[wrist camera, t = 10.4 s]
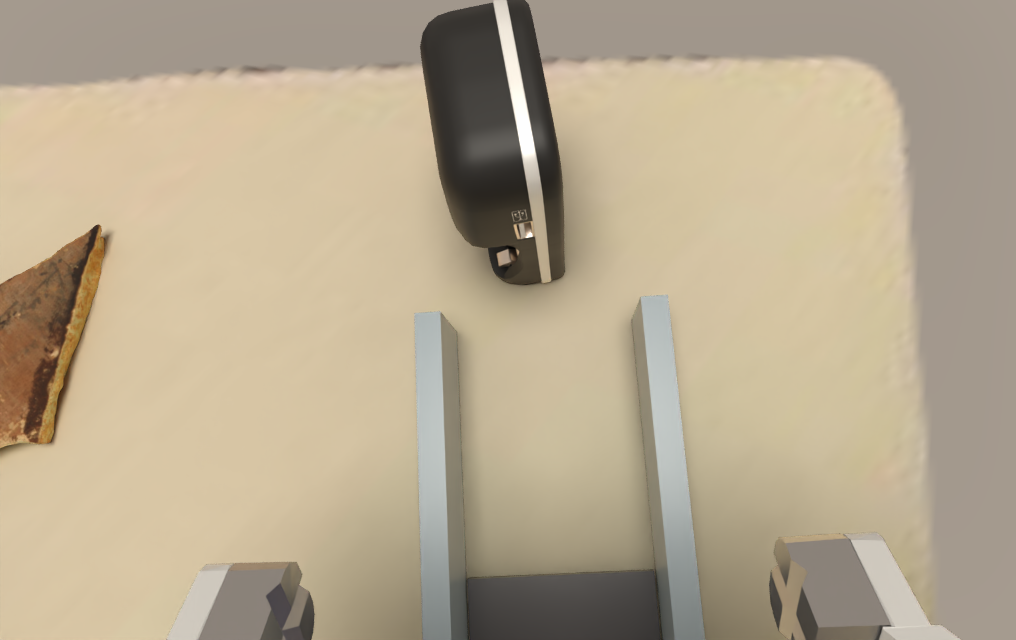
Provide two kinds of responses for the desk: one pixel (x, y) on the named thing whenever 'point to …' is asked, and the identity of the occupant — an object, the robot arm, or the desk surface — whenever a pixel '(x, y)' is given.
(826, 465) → the desk surface
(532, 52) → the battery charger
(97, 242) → the shard
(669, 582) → the channel
